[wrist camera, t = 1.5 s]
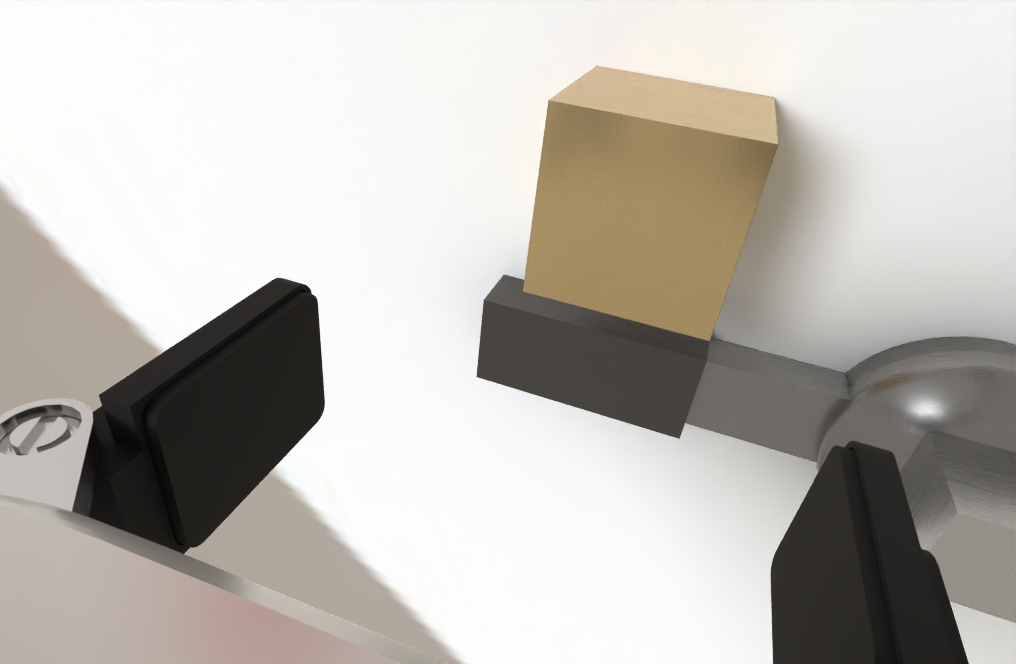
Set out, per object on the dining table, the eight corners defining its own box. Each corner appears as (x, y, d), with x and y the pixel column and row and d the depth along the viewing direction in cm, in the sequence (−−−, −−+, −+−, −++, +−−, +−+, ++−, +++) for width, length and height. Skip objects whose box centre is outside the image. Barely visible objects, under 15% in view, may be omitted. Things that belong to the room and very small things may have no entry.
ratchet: (509, 222, 26) (445, 292, 20) (1157, 378, 21) (1290, 524, 15) (490, 389, 31) (435, 479, 25) (1007, 548, 26) (1070, 702, 20)
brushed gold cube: (596, 65, 21) (548, 100, 17) (774, 97, 20) (778, 144, 15) (569, 224, 25) (522, 291, 20) (720, 260, 23) (709, 341, 19)
